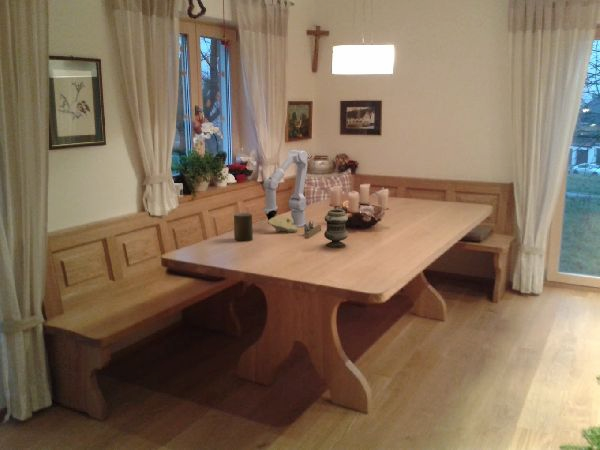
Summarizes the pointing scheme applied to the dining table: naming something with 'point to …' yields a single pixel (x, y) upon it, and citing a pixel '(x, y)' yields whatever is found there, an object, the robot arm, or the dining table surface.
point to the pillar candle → (243, 227)
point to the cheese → (283, 224)
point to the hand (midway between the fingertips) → (271, 223)
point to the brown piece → (311, 229)
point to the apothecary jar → (336, 227)
